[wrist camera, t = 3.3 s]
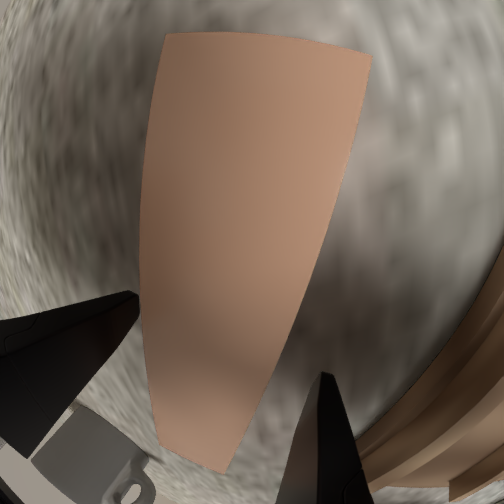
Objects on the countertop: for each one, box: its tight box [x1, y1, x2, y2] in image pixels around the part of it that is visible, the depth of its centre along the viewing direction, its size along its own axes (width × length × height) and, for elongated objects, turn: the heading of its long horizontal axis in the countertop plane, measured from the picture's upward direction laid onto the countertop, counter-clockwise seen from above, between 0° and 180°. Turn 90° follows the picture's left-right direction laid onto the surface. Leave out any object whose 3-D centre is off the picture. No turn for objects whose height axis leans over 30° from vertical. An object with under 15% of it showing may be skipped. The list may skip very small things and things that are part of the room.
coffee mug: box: [31, 406, 156, 504], centre depth 18 cm, size 13×10×10 cm
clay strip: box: [139, 32, 373, 475], centre depth 8 cm, size 16×4×3 cm, turn 168°
